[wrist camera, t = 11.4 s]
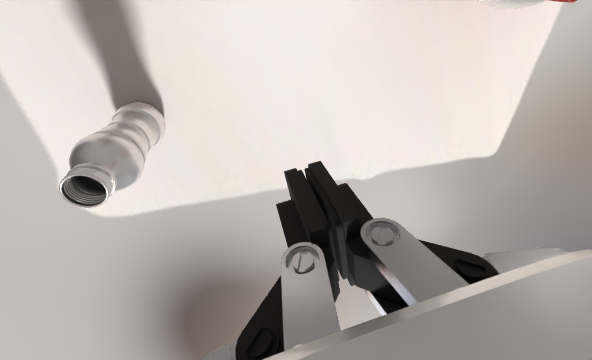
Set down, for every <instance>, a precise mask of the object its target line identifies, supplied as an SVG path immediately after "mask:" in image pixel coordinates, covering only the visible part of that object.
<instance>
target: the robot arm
mask: <svg viewBox="0 0 592 360" xmlns="http://www.w3.org/2000/svg"><path fill="white" fill-rule="evenodd" d="M478 1H480V2H481V3H483V4H485V5H488V6H491V7H494V8H498V9H517V8H523V7H528V6H532V5H535V4H538V3H541V2H543V1H546V0H478ZM284 174H285V178H286V181H287V185H288V189H289V193H290V197H291V200H288V201H285V202H282V203H278V204H276V206H277V209H278V213H279V217H280V220H281V224H282V228H283V231H284V235H285V238H286V242H287V246H288V249H287V250H286V251H285V252H284V254H283V256H282V258H281V276H280V277H279V279H278V280H277V282H276V283H275V285H274V286H273V287H272V289H271V290H270V292H269V293H268V295H267V296H266V298H265V299H264V301H263V302H262V303H261V305H260V307H259V308H258V309H257V311H256V312H255V314H254V315H253V317H252V318H251V320H250V321H249V323H248V324H247V326H246V327H245V328H244V330H243V331H242V333H241V335H240V337H239V338H238V340H237V341H236V342H234V343H233V344H231V345H230V346H228V345H227V344H225V345H224V346H222V347H220V348H219V349H217V350H215V351H214V352H212V353H211V354H209V355H207V356H206V357H204V358H202V359H201V360H592V249H590V250H582V251H577V252H571V253H569V252H567V251H564V250H562V249H557V248H553V247H542V248H532V249H523V250H514V251H505V252H496V253H488V254H484V257H479V256H477V255H474V254H471V253H468V252H464V251H460V250H456V249H452V248H449V247H445V246H441V245H437V244H433V243H429V242H425V241H421V240H418V239H416V238H415V237H414V236H413V235H412V234H410V233H409V232H408V231H407V230H406V229H405V228H404V227H402V226H401V225H400V224H399V223H397V222H395V221H393V220H390V219H386V218H375V219H373V217H372V216H371V215H370V213H369V212H368V211H367V209H366V208H365V207H364V205H363V204H362V203H361V201H360V200H359V199H358V198H357V196H356V195H355V194H354V192H353V191H352V190H351V188H350V187H349V186H348V185H347V184H346V183H344V184H341V185H337V184H336V183H335V181H334V180H333V178H332V177H331V175H330V174H329V172H328V171H327V170H326V168H325V167H324V165H323V164H322V162H321V161H318V162H315V163H311V164H308V168H306V169H305V174H306V178H305V176H304V174H303V172H302V170H299V171H297V169H296V168H294V169H291V170H287V171H284ZM337 268H338V269H337ZM338 270H339V272H340V274H341V276H342V278H343V279H346V278H348V281H349V283H350V285H351V286H353V285H356V286H358V287H360V288H362V289H365V292H366V294H367V296H368V298H369V299H370V300H371V302H372V303H373V304H374V306H375V307H376V309H377V310H378V312H379V313H380V314H381V317H378V318H375V319H373V320H370V321H367V322H364V323H361V324H359V325H356V326H353V327H350V328H347V329H345V330H342V331H341V330H340V326H339V321H338V317H337V312H336V308H335V301H336V299H337V297H338V295H339V293H340V289H339V283H338V281H339V275H338Z"/></svg>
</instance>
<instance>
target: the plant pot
mask: <svg viewBox="0 0 592 360" xmlns="http://www.w3.org/2000/svg"><path fill="white" fill-rule="evenodd" d="M550 1H558V2H575V1H577V0H550Z"/></svg>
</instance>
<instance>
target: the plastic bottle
mask: <svg viewBox="0 0 592 360" xmlns="http://www.w3.org/2000/svg"><path fill="white" fill-rule="evenodd" d="M164 132H165V121H164V118H163V116H162V115H161V113H160V112H159V111H158V110H157V109H156V108H154V107H153V106H151V105H149V104H146V103H141V102H134V103H130V104H126V105H124V106H122V107H120V108H119V109H118V110H117V111H116V113H115V114H114V116H113V118H112V121H111V122H110V123H109V125H108V126H106V127H105V128H103V129H102V130H100V131H98V132H96V133H94V134H92V135H89V136H87V137H85V138H84V139H82V140H80V141H79V142H78V143H77V144H76V145H75V146H74V147H73V149H72V152H71V155H70V158H69V165H70V169H71V170H70V171H69V172H68V174H67V176H65V177H64V178H63V180H62V181H61V183H60V185H59V191H60V194H61V195H62V197H63V198H64V199H65V200H66V201H68V202H69V203H71V204H73V205H75V206H79V207H84V208H91V207H96V206H99V205H101V204H103V203H104V202H105V201H106V200H107V199H108V197H109V196H110V195H112V193H113V192H114V191H119V190H122V189H125V188H127V187H129V186H130V185H132V184H133V183H135V182H136V181H137V180H138V179H139V177H140V175H141V173H142V171H143V168H144V163H145V159H146V156H147V153H148V151H149V150H150V149H151V147H152V146H154V145H155V144H157V143H158V142H159V141H160V140H161V138H162V137H163V135H164Z"/></svg>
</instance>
